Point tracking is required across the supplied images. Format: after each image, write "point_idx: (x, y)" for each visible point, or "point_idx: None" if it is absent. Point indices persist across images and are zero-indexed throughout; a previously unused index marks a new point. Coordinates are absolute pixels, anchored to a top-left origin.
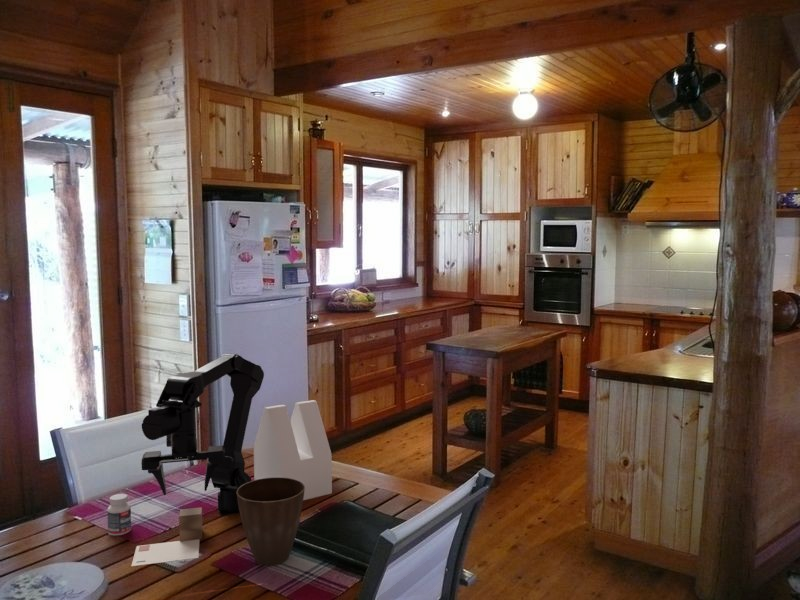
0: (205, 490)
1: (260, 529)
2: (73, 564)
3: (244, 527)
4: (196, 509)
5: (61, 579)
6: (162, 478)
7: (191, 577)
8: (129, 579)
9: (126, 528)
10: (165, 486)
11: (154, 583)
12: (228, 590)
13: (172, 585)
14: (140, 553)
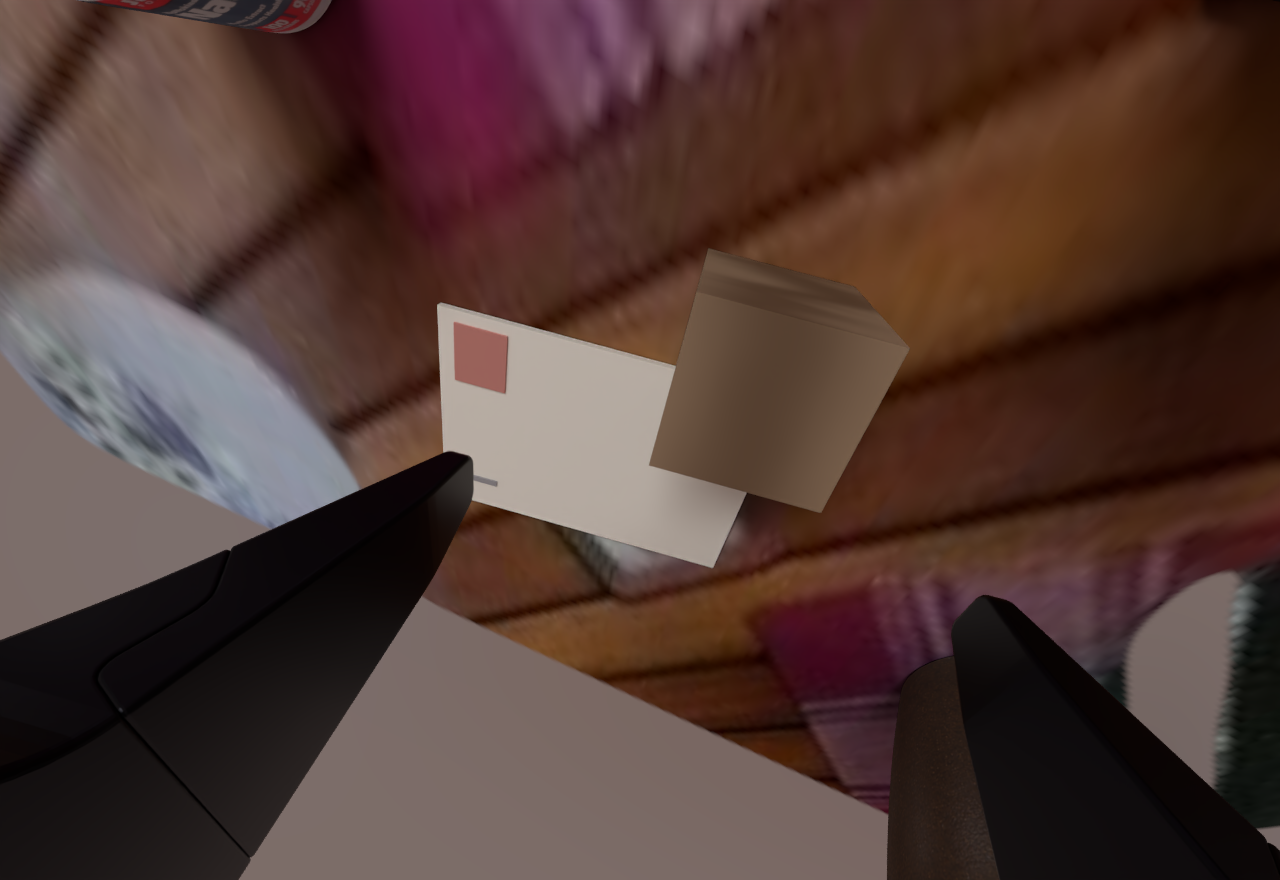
0: (960, 641)
1: None
2: (187, 334)
3: (889, 873)
4: (834, 385)
5: (209, 438)
6: (268, 829)
7: (656, 644)
8: (456, 557)
9: (293, 10)
10: (409, 556)
11: (538, 614)
12: (736, 734)
13: (591, 648)
14: (469, 404)
